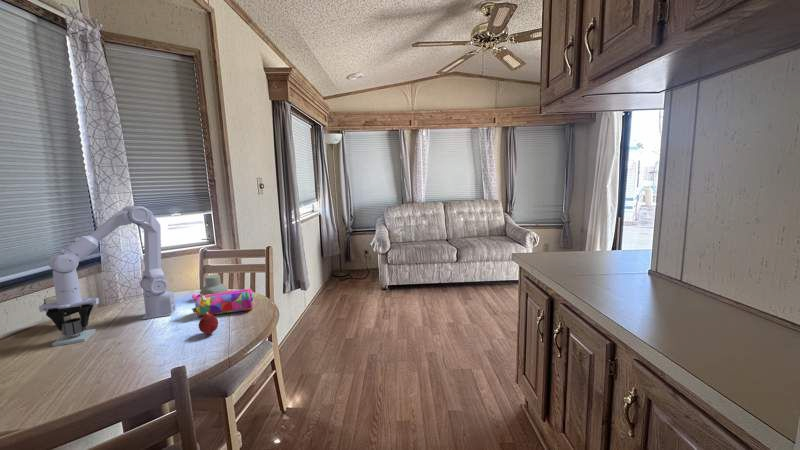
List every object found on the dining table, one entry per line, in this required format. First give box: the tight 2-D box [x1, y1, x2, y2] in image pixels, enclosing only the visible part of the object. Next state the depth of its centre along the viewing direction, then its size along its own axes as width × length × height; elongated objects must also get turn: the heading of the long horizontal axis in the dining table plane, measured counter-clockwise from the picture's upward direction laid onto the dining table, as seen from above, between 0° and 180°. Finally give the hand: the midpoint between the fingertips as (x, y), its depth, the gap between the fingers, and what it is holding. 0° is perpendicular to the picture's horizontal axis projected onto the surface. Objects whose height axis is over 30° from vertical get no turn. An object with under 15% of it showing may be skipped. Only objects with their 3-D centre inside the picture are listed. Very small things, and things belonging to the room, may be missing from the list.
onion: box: [198, 312, 219, 335], centre depth 111 cm, size 6×6×8 cm
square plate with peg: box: [52, 328, 97, 347], centre depth 110 cm, size 8×8×4 cm
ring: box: [60, 316, 87, 336], centre depth 110 cm, size 5×5×4 cm
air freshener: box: [199, 274, 228, 295], centre depth 148 cm, size 11×8×10 cm
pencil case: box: [191, 288, 255, 317], centre depth 131 cm, size 22×9×9 cm, turn 110°
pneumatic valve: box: [43, 295, 81, 321], centre depth 121 cm, size 6×12×12 cm, turn 77°
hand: (73, 327), depth 110 cm, fingers closed on ring, 5 cm apart
